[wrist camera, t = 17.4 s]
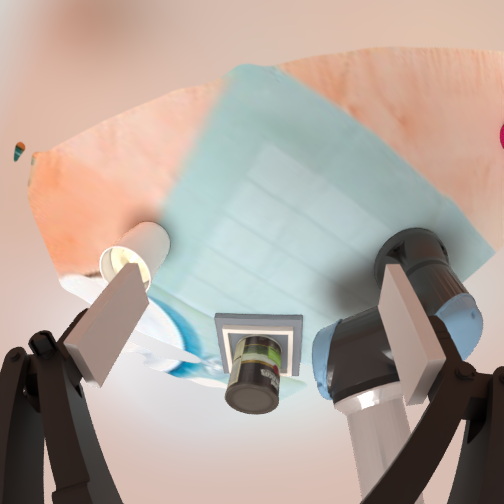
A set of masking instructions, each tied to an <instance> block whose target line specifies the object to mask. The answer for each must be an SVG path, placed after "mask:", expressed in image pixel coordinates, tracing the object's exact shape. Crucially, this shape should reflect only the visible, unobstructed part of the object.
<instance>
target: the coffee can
mask: <svg viewBox="0 0 504 504" xmlns="http://www.w3.org/2000/svg"><path fill="white" fill-rule="evenodd" d="M281 355H282V348H281V345H280V344H279V343H278V342H277V341H276V340H275V339H274V338H272V337H270V336H267V335H263V334H251V335H247V336H245V337H243V338H241V339H240V340H239V341H238V343H237V345H236V352H235V356H234V361H233V365H232V369H231V374H230V378H229V383H228V387H227V391H226V393H225V400H226V402H227V403H228V404H229V406H231V407H232V408H234V409H235V410H237V411H240V412H243V413H247V414H265V413H268V412H271V411H272V410H274V409H275V408H276V407H277V406H278V404H279V397H278V396H279V382H280V368H281Z"/></svg>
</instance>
